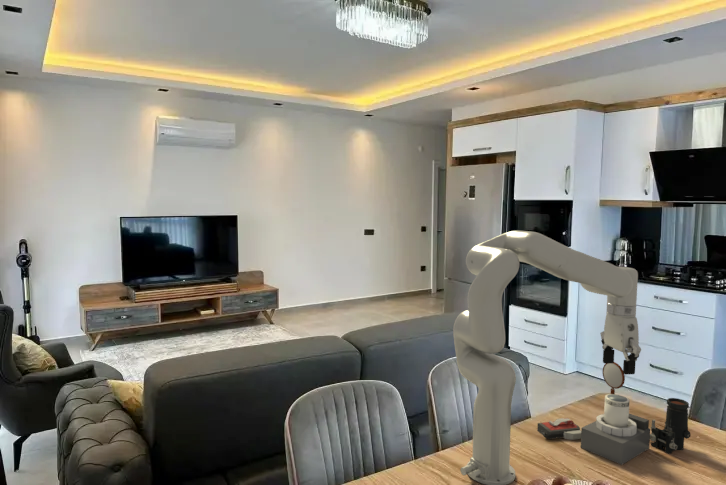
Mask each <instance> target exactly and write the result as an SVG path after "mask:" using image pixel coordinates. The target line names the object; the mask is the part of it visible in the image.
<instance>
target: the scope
mask: <svg viewBox="0 0 726 485" xmlns="http://www.w3.org/2000/svg"><path fill="white" fill-rule="evenodd" d="M666 404H667V406H666V407H667V408H666V412H665V413H666V414H665V422H664V427H663V429H661V428H658V427H656V419H651V426H650V441H651V442H650V446H651V447H653V448H655V449H658V448H659V450H661V451H664V452H665V454H667V455H670V454H673V452H675V451H683V450H684V448H685V439H689V438H691V436H692V435H691V432H690V430H689V410H688V409H689V407H690V403H689V402H688V401H686V400H684V399H681V398H677V397H676V398H675V397H670V398H667V399H666Z"/></svg>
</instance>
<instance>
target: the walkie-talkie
mask: <svg viewBox="0 0 726 485" xmlns="http://www.w3.org/2000/svg"><path fill="white" fill-rule="evenodd" d="M537 432H538V433H539V434H541V435H542V436H543V437H544V438H546V439H547V440H555V439H556V438H557V439H561V438H563V439H565V440H572V441H573V440H581V427H580V426H579V425H578V424H577V423H575V422H574V421H573V420H571V419H570V418H568V417H564V418H563V417H562V418H556V420H554V421H552V420H548V421H545V422H538V423H537Z"/></svg>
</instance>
